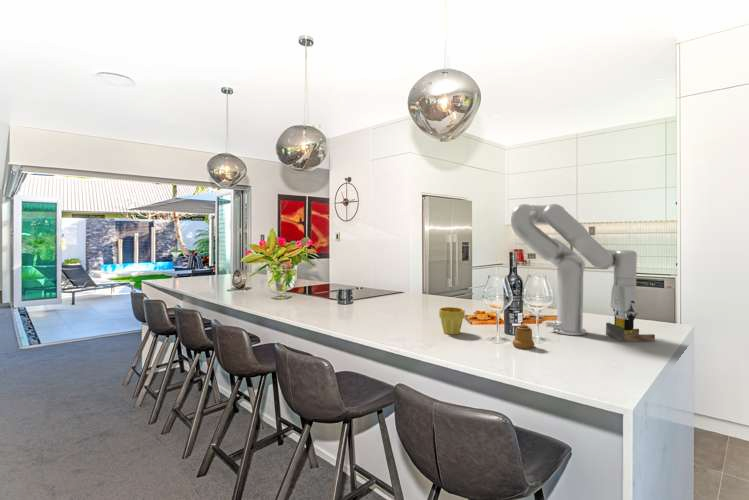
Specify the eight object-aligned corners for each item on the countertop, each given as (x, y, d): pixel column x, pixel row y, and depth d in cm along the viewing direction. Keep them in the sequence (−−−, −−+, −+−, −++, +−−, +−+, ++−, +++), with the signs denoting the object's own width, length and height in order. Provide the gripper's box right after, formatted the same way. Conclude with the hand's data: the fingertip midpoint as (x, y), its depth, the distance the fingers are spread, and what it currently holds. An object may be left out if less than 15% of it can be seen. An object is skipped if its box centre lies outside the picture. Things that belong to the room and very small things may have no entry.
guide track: (637, 334, 167) (637, 322, 166) (654, 341, 157) (655, 328, 156) (605, 334, 166) (606, 322, 166) (620, 341, 156) (621, 328, 156)
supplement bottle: (629, 339, 158) (630, 312, 157) (613, 336, 162) (613, 310, 161) (633, 336, 161) (634, 310, 161) (618, 333, 165) (618, 308, 165)
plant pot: (453, 337, 164) (454, 312, 163) (433, 332, 171) (433, 309, 171) (469, 332, 170) (469, 309, 170) (449, 328, 178) (449, 306, 178)
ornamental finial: (538, 348, 147) (520, 350, 145) (525, 343, 155) (508, 344, 153) (539, 326, 147) (520, 328, 145) (526, 322, 154) (508, 323, 152)
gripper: (602, 279, 169) (601, 323, 170) (629, 284, 152) (627, 333, 153) (620, 279, 169) (619, 323, 170) (649, 284, 152) (648, 333, 153)
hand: (623, 327), depth 161 cm, fingers closed on supplement bottle, 5 cm apart
